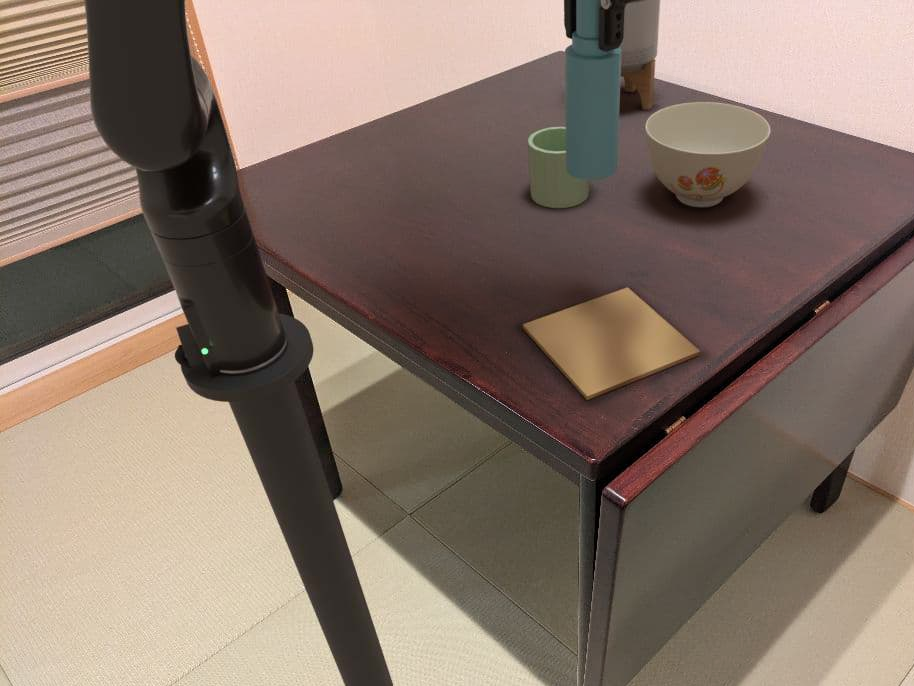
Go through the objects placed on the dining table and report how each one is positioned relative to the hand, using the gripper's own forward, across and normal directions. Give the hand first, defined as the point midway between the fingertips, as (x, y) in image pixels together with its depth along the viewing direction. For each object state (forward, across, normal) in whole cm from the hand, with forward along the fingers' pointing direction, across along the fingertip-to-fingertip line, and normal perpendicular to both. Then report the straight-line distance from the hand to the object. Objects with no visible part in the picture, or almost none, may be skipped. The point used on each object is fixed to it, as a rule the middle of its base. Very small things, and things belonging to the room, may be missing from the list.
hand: (593, 42), depth 75 cm
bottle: (+13, 0, 0) cm, 13 cm away
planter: (+28, -38, +41) cm, 63 cm away
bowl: (+28, -6, +26) cm, 39 cm away
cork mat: (+28, +9, -5) cm, 30 cm away
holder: (+28, -20, +13) cm, 37 cm away
